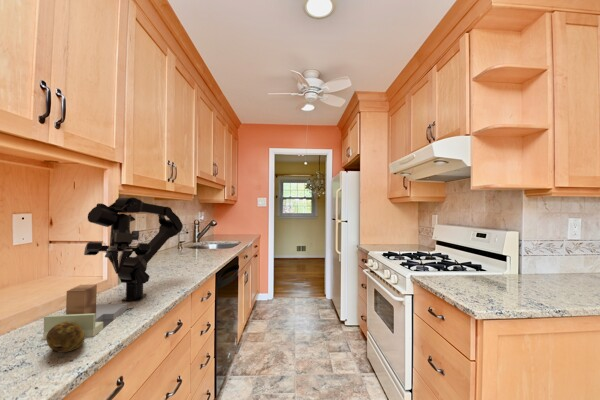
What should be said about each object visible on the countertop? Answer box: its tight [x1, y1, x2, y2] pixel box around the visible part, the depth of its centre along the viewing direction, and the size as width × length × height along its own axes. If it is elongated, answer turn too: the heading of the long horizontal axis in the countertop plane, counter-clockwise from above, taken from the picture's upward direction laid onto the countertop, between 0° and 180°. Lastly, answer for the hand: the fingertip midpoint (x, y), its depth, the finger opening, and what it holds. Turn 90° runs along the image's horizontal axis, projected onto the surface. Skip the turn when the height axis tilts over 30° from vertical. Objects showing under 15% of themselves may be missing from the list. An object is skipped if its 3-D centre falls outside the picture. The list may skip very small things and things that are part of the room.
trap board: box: [43, 302, 128, 341], centre depth 84 cm, size 20×12×6 cm, turn 9°
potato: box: [45, 322, 86, 354], centre depth 68 cm, size 8×13×8 cm, turn 16°
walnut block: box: [65, 284, 98, 315], centre depth 80 cm, size 6×4×10 cm
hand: (117, 273), depth 92 cm, fingers closed
